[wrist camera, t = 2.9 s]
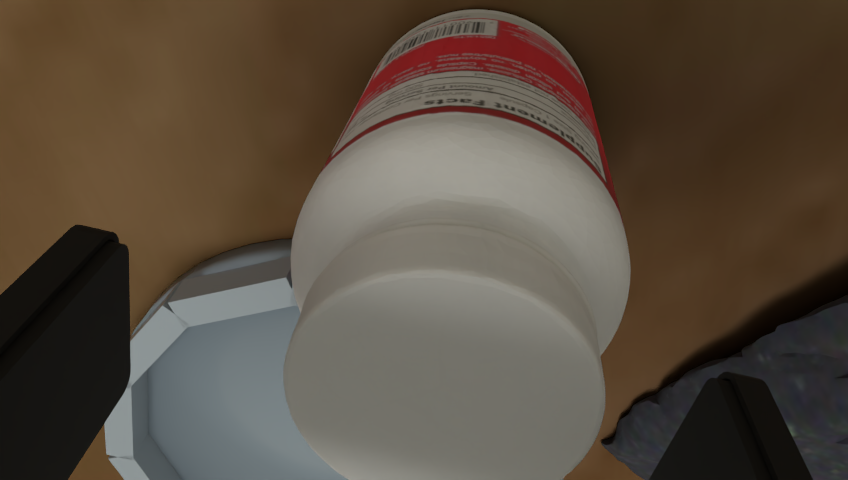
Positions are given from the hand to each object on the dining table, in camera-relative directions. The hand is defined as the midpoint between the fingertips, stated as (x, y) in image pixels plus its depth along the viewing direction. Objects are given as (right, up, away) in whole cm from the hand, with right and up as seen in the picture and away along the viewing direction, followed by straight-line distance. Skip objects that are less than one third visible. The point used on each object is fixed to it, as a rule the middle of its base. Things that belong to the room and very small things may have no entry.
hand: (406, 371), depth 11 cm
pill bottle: (+2, +6, +8) cm, 10 cm away
